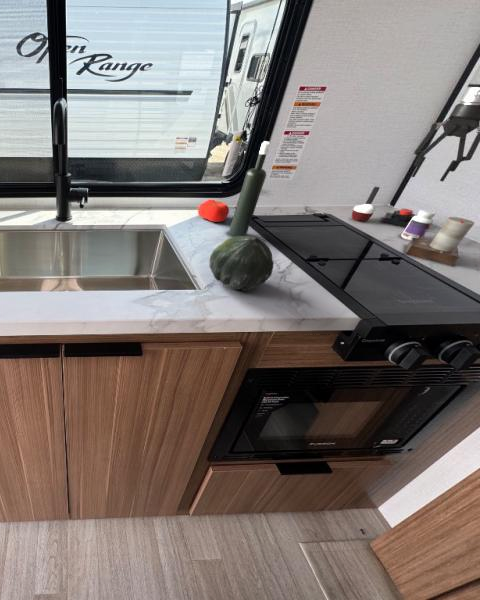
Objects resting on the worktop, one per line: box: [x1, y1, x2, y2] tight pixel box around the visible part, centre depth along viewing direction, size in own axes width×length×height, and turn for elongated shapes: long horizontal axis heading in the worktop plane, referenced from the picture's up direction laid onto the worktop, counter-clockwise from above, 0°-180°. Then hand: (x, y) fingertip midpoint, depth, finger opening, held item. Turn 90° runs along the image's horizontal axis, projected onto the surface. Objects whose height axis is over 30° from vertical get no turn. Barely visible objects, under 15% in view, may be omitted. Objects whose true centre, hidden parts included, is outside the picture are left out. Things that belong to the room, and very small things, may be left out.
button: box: [399, 208, 414, 216], centre depth 123 cm, size 4×4×2 cm
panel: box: [405, 237, 464, 267], centre depth 102 cm, size 12×10×3 cm
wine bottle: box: [227, 140, 271, 237], centre depth 105 cm, size 6×6×30 cm
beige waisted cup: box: [430, 216, 475, 252], centre depth 98 cm, size 6×6×9 cm
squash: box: [208, 235, 274, 292], centre depth 84 cm, size 14×15×15 cm
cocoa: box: [351, 186, 380, 223], centre depth 124 cm, size 10×6×12 cm, turn 112°
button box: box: [381, 210, 417, 229], centre depth 124 cm, size 10×8×4 cm
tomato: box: [197, 199, 230, 223], centre depth 124 cm, size 10×11×6 cm
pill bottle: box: [401, 209, 437, 241], centre depth 111 cm, size 5×5×10 cm
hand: (427, 178), depth 115 cm, fingers open, 7 cm apart
